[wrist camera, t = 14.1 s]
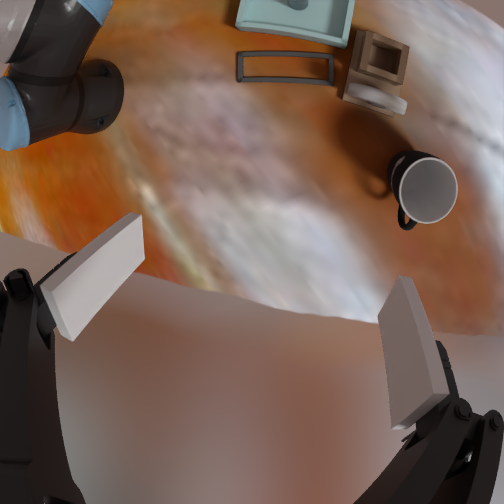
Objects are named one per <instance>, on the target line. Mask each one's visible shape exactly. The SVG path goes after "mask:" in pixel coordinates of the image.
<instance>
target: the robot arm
mask: <svg viewBox="0 0 504 504" xmlns="http://www.w3.org/2000/svg"><path fill="white" fill-rule="evenodd" d="M112 5H113V0H0V61H1V62H2V63H11V64H10V67H9V71H8V74H7V76H3V77H1V78H0V148H1V149H3V150H6V151H11V150H14V149H17V148H21V147H26V146H28V145H30V144H33V143H36V142H38V141H41V140H44V139H46V138H49V137H52V136H55V135H58V134H61V133H64V132H73V133H79V134H93V133H97V132H100V131H103V130H105V129H106V128H107V127H109V126H110V125H111V124H112V123H113V121H114V120H115V119H116V117H117V115H118V113H119V111H120V109H121V106H122V102H123V96H124V84H123V79H122V76H121V73H120V71H119V70H118V68H117V67H116V66H115V65H114V64H113V63H111V62H109V61H105V60H92V61H88V62H85V63H83V64H81V63H82V61H83V59H84V57H85V55H86V53H87V51H88V49H89V47H90V45H91V43H92V41H93V39H94V38H95V36H96V34H97V32H98V31H99V29H100V27H102V26H103V22H104V20H105V18H106V16H107V15H108V13H109V11H110V9H111V8H112ZM144 259H145V256H144V244H143V230H142V215H140V214H136V213H131V212H130V213H128V214H127V215H125V216H124V217H123V218H121V219H120V220H119V221H117V222H116V223H115V224H113V225H112V226H111V227H109V228H108V229H107V230H105V231H104V232H103V233H101V234H100V235H99V236H98V237H96V238H95V239H94V240H93V241H91V242H90V243H89V244H88V245H86V246H85V247H84V248H83V249H81V250H80V251H79V252H75V253H73V254H71V255H69V256H67V257H66V258H65V259H64V260H63V261H61V262H60V264H58V265H57V266H55V267H54V269H52V270H51V271H50V272H48V273H47V274H46V275H45V276H44V277H43V278H42V279H41V280H40V281H38V282H37V283H36V284H35V285H34V286H33V283H32V281H31V278H30V275H29V272H28V271H27V270H26V269H16V270H13V271H12V272H10V273H9V274H8V275H7V276H6V277H5V278H4V280H3V282H4V284H5V286H6V289H7V291H6V290H5V288H4V286H3V284H2V282H1V281H0V504H44V503H45V504H86V503H85V500H84V498H83V495H82V493H81V491H80V489H79V488H78V487H77V485H76V484H75V483H74V481H73V479H72V476H71V472H70V469H69V464H68V461H67V456H66V452H65V447H64V441H63V436H62V430H61V424H60V417H59V409H58V401H57V390H56V376H55V335H54V331H53V329H54V328H55V327H56V326H57V327H58V329H59V332H60V333H61V335H62V336H64V337H66V338H67V339H69V340H71V341H74V340H75V338H76V337H77V336H78V335H79V333H80V332H81V331H82V330H83V329H84V327H85V326H86V325H87V324H88V322H89V321H90V320H91V319H92V318H93V317H94V315H95V314H96V313H97V312H98V311H99V309H100V308H101V307H102V306H103V305H104V304H105V302H106V301H107V300H108V299H109V298H110V297H111V295H112V294H113V293H114V292H115V291H116V290H117V289H118V287H120V285H121V284H122V283H123V282H124V281H125V280H126V279H127V278H128V277H129V275H130V274H131V273H132V272H133V271H134V270H135V269H136V268H137V267H138V266H139V265H140V264H141V263H142V262H143V261H144ZM378 321H379V327H380V333H381V338H382V344H383V351H384V358H385V365H386V374H387V382H388V392H389V403H390V415H391V429H407V428H409V427H410V426H412V425H413V424H414V423H416V430H415V431H413V432H412V433H411V434H409V435H408V436H406V437H405V438H404V439H403V440H402V442H404V441H405V440H407V441H406V442H405V444H404V445H403V446H402V448H401V449H400V450H399V452H398V453H397V454H396V456H395V457H394V458H393V460H392V461H391V462H390V464H389V465H388V466H387V467H386V468H385V470H384V471H383V472H382V473H381V475H380V476H379V477H378V478H377V479H376V480H375V481H374V482H373V483H372V485H371V486H370V487H369V488H368V489H367V490H366V491H365V492H364V493H363V494H362V495H361V496H360V497H359V499H357V500H356V501H355V502H354V503H353V504H489V503H490V500H491V497H492V493H493V489H494V485H495V481H496V476H497V472H498V467H499V461H500V456H501V448H502V441H503V432H504V422H503V418H502V416H501V415H500V413H499V412H497V411H496V410H490V411H489V412H487V413H486V414H485V415H484V416H481V415H478V414H476V413H473V412H472V408H471V406H470V404H469V403H468V402H467V401H466V400H464V399H462V398H459V394H458V390H457V386H456V382H455V379H454V375H453V371H452V370H451V365H450V362H449V358H448V355H447V352H446V349H445V348H444V346H443V345H442V343H441V342H440V341H437V340H435V339H434V336H433V333H432V330H431V327H430V324H429V321H428V318H427V315H426V313H425V310H424V307H423V305H422V302H421V299H420V297H419V294H418V292H417V289H416V287H415V285H414V282H413V280H412V278H409V277H405V276H401V275H399V276H398V278H397V280H396V282H395V284H394V286H393V288H392V290H391V292H390V294H389V296H388V298H387V300H386V302H385V303H384V305H383V307H382V309H381V311H380V312H379V314H378ZM470 455H472V456H471V460H470V461H469V462H468V457H469V456H470Z"/></svg>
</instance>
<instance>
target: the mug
mask: <svg viewBox="0 0 504 504" xmlns="http://www.w3.org/2000/svg"><path fill="white" fill-rule="evenodd" d="M388 181H389V184H390V187H391V190H392V192H393V194H394V196H395V198H396V200H397V202H398V203H399V208H398V223H399V225H400V227H401V228H402V229H404V230H411V229H412V228H413V227H414V226H415V225H416V224H417V222H419V223H424V224H430V223H434V222H437V221H439V220H441V219H443V218H444V217H445V216H446V215H447V214H448V213H449V212H450V211H451V209H452V208H453V206H454V204H455V201H456V198H457V192H458V185H457V180H456V176H455V174H454V172H453V170H452V169H451V168H450V166H449V165H448V164H447V163H445V162H444V161H443V160H441V159H439V158H437V157H435V156H433V155H430V154H428V153H424V152H420V151H413V150H408V151H403V152H400V153H398V154H397V155H396V156H394V157H393V159H392V160H391V162H390V164H389V167H388ZM405 213H406V214H407V215H408V216H409V217H410V219H409V222H408V223H407V224H405Z"/></svg>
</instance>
